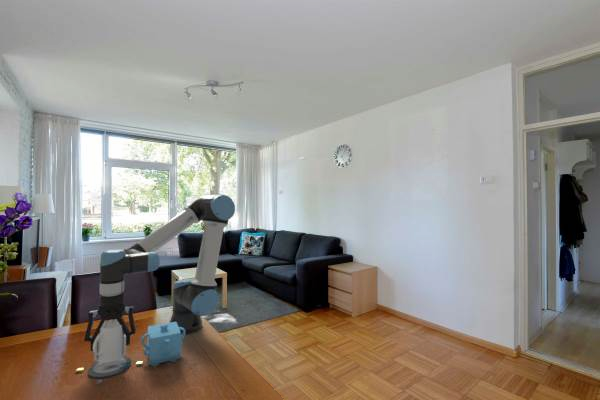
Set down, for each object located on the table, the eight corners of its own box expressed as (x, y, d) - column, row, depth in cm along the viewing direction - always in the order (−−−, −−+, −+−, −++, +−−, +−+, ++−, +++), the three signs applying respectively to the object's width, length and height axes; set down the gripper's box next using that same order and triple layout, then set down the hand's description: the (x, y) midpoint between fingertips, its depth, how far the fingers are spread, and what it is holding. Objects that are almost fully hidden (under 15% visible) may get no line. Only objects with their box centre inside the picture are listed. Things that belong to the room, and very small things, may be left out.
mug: (100, 370, 99) (101, 334, 99) (81, 365, 101) (83, 330, 102) (130, 353, 110) (131, 321, 110) (112, 349, 113) (113, 318, 113)
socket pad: (146, 355, 115) (146, 352, 115) (134, 380, 99) (134, 377, 99) (84, 362, 110) (85, 359, 110) (60, 390, 93) (60, 386, 93)
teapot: (139, 356, 115) (140, 323, 115) (182, 346, 123) (183, 315, 123) (142, 380, 99) (142, 342, 99) (190, 368, 107) (191, 332, 107)
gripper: (145, 287, 114) (144, 346, 114) (79, 293, 106) (77, 357, 105) (144, 292, 108) (142, 355, 107) (73, 300, 99) (71, 368, 99)
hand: (110, 356), depth 106 cm, fingers closed on mug, 8 cm apart
